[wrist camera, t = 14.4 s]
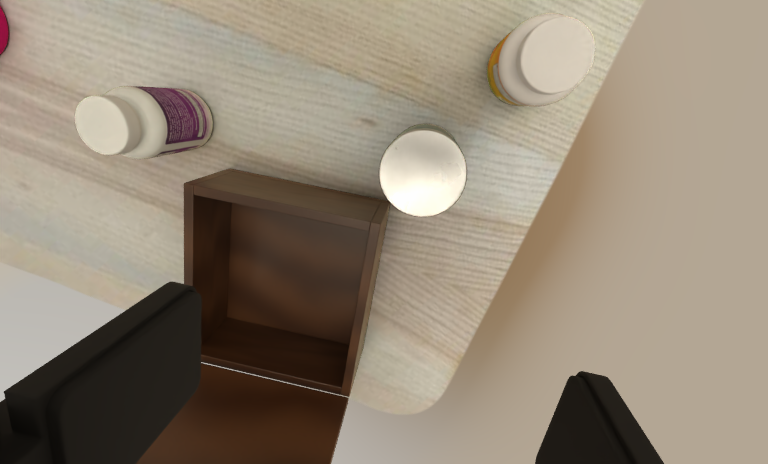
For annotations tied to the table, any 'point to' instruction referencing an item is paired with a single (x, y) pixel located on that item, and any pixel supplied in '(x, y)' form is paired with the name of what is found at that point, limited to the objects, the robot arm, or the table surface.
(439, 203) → the can
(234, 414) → the lid
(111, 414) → the robot arm
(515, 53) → the supplement bottle
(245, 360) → the chest
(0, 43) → the pepper mill
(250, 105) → the table surface
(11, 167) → the table surface
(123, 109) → the pill bottle
